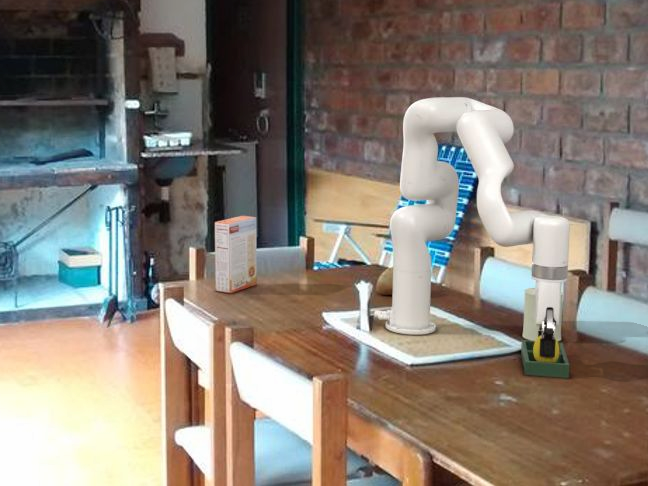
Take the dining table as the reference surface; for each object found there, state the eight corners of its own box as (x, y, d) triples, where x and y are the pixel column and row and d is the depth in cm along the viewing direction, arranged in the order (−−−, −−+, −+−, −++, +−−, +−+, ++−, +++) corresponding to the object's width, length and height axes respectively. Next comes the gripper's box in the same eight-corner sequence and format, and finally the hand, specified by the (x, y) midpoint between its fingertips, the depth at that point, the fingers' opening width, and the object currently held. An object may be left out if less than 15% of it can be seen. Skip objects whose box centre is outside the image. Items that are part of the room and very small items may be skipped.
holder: (525, 375, 221) (525, 361, 221) (521, 352, 238) (521, 339, 237) (568, 378, 219) (569, 364, 218) (561, 355, 236) (562, 342, 235)
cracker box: (241, 282, 308) (241, 214, 306) (257, 285, 305) (258, 216, 302) (213, 291, 297) (213, 220, 294) (230, 294, 293) (230, 222, 291)
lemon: (558, 365, 226) (560, 331, 225) (558, 373, 221) (559, 337, 220) (532, 363, 228) (534, 328, 227) (531, 370, 222) (533, 335, 222)
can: (563, 343, 245) (565, 295, 243) (523, 341, 247) (525, 293, 245) (559, 333, 254) (561, 286, 252) (520, 331, 256) (522, 284, 254)
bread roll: (431, 294, 294) (432, 267, 293) (387, 299, 288) (388, 271, 287) (413, 287, 303) (413, 261, 302) (369, 292, 297) (370, 265, 296)
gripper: (529, 263, 231) (526, 340, 233) (534, 279, 214) (530, 362, 216) (564, 265, 229) (560, 343, 231) (571, 281, 213) (567, 365, 215)
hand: (546, 351), depth 224 cm, fingers closed on lemon, 5 cm apart
